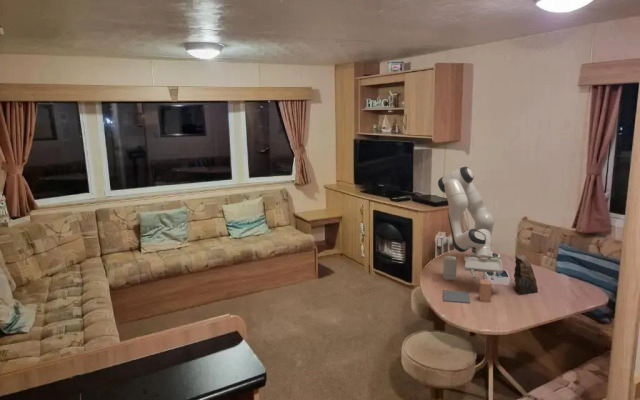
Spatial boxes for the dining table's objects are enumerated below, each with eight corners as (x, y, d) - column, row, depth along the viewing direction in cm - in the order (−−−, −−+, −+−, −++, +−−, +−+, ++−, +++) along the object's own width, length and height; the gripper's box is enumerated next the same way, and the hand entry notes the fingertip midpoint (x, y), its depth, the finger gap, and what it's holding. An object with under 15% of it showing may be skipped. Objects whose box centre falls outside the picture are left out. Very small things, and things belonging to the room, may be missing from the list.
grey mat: (443, 290, 250) (443, 289, 249) (468, 292, 246) (468, 291, 246) (443, 301, 236) (443, 300, 236) (470, 303, 233) (470, 302, 233)
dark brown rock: (519, 295, 240) (522, 261, 236) (504, 286, 252) (506, 254, 248) (538, 292, 243) (541, 258, 239) (523, 284, 255) (525, 251, 251)
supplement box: (456, 280, 264) (457, 260, 261) (443, 279, 265) (444, 260, 263) (455, 275, 271) (455, 256, 268) (442, 275, 273) (443, 256, 270)
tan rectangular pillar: (479, 296, 240) (480, 279, 238) (489, 297, 239) (490, 280, 237) (480, 300, 235) (480, 283, 233) (490, 301, 234) (491, 284, 232)
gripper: (464, 252, 247) (463, 274, 240) (503, 255, 241) (503, 278, 234) (464, 256, 252) (463, 278, 245) (502, 260, 246) (502, 282, 239)
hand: (483, 278), depth 240 cm, fingers open, 8 cm apart
